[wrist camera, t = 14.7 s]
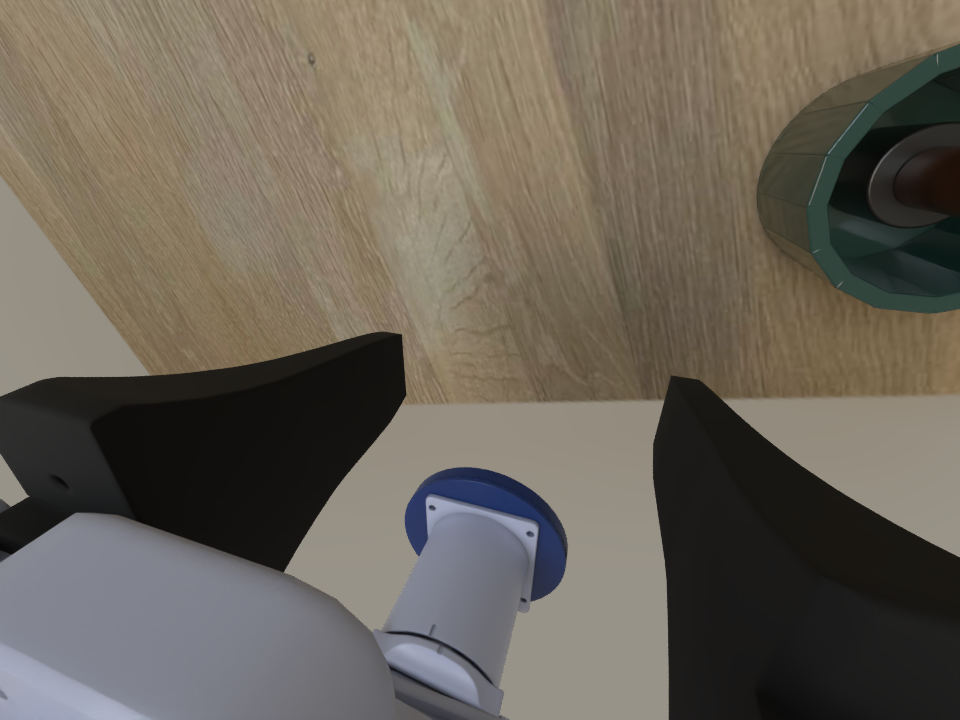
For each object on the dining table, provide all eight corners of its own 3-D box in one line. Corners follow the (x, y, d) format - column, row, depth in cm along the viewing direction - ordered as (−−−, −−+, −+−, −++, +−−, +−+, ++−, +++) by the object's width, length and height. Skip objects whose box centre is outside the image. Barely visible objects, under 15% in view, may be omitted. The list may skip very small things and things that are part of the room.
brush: (902, 216, 15) (1087, 263, 9) (810, 212, 15) (925, 252, 10) (944, 126, 13) (1194, 109, 8) (842, 126, 14) (996, 109, 8)
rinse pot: (928, 274, 16) (1056, 327, 11) (734, 258, 17) (773, 298, 13) (1040, 61, 13) (1281, 10, 8) (791, 67, 14) (870, 29, 10)
